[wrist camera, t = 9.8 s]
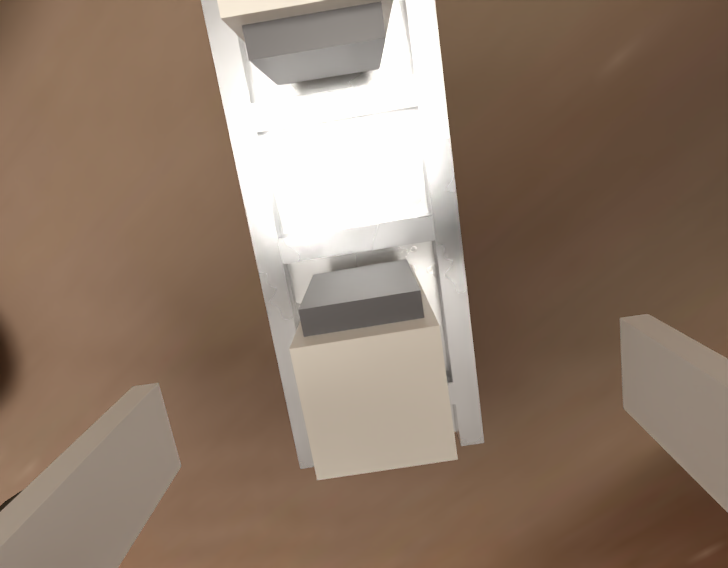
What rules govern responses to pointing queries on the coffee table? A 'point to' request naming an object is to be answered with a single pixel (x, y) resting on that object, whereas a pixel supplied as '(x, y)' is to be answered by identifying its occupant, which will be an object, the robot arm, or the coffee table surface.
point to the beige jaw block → (371, 372)
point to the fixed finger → (310, 36)
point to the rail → (352, 188)
